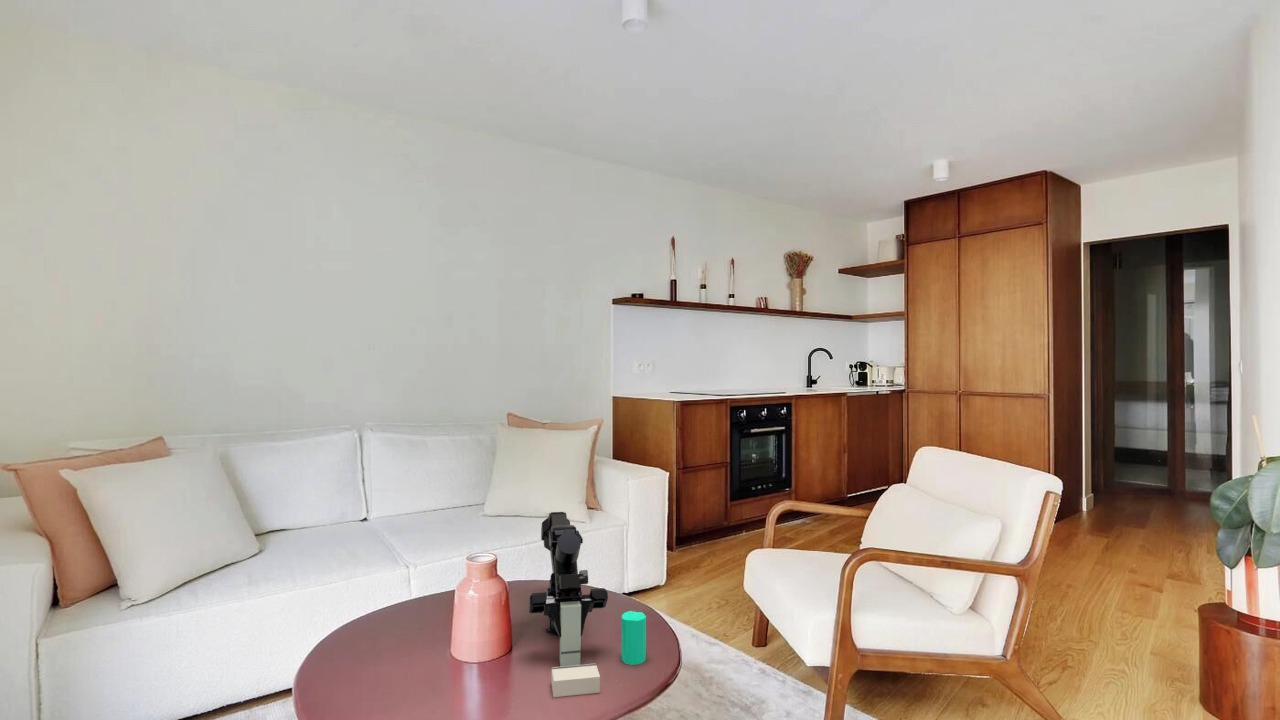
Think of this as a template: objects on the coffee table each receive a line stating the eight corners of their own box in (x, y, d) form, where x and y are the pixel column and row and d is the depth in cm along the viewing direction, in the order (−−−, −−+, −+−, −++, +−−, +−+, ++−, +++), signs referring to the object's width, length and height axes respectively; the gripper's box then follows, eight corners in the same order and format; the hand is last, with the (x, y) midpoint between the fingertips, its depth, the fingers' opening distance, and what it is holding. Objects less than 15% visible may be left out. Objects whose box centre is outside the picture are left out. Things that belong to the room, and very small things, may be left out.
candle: (643, 666, 153) (643, 615, 153) (618, 663, 154) (619, 613, 154) (648, 654, 159) (648, 605, 159) (624, 651, 160) (624, 603, 160)
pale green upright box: (559, 660, 155) (560, 602, 154) (578, 658, 156) (579, 600, 155) (560, 666, 152) (561, 607, 151) (580, 664, 153) (581, 605, 152)
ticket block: (551, 683, 145) (551, 667, 145) (595, 678, 147) (595, 663, 147) (553, 697, 139) (553, 680, 139) (599, 692, 141) (600, 676, 141)
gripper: (530, 560, 155) (532, 625, 144) (607, 555, 159) (614, 619, 148) (528, 581, 163) (529, 644, 152) (601, 576, 167) (608, 637, 156)
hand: (570, 636), depth 152 cm, fingers closed on pale green upright box, 5 cm apart
